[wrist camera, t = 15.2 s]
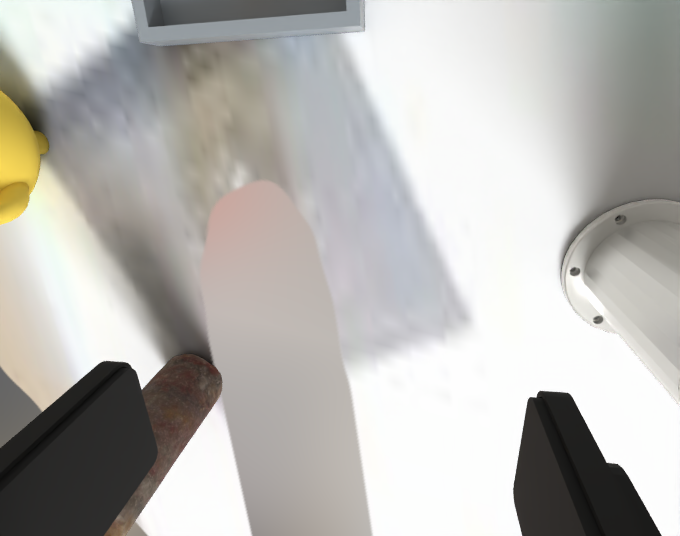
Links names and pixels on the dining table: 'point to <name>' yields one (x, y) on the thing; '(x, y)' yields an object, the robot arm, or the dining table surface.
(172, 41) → the tray
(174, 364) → the candle
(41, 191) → the dining table surface
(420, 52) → the dining table surface
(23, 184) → the teapot
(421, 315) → the dining table surface
